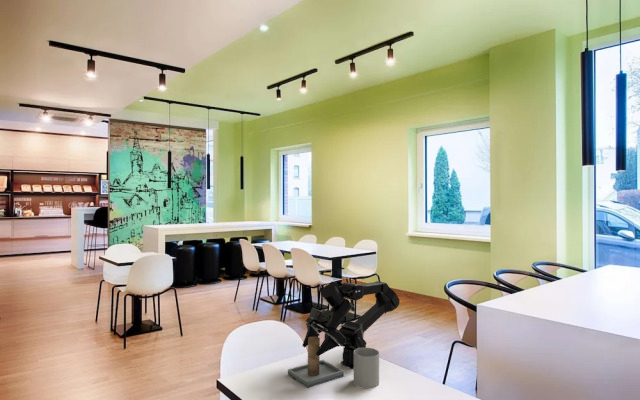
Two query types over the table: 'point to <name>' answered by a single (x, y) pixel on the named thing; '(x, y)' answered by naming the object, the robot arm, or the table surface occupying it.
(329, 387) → the table surface
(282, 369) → the table surface
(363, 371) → the cup
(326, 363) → the tray
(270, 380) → the table surface
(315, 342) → the dowel
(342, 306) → the robot arm
